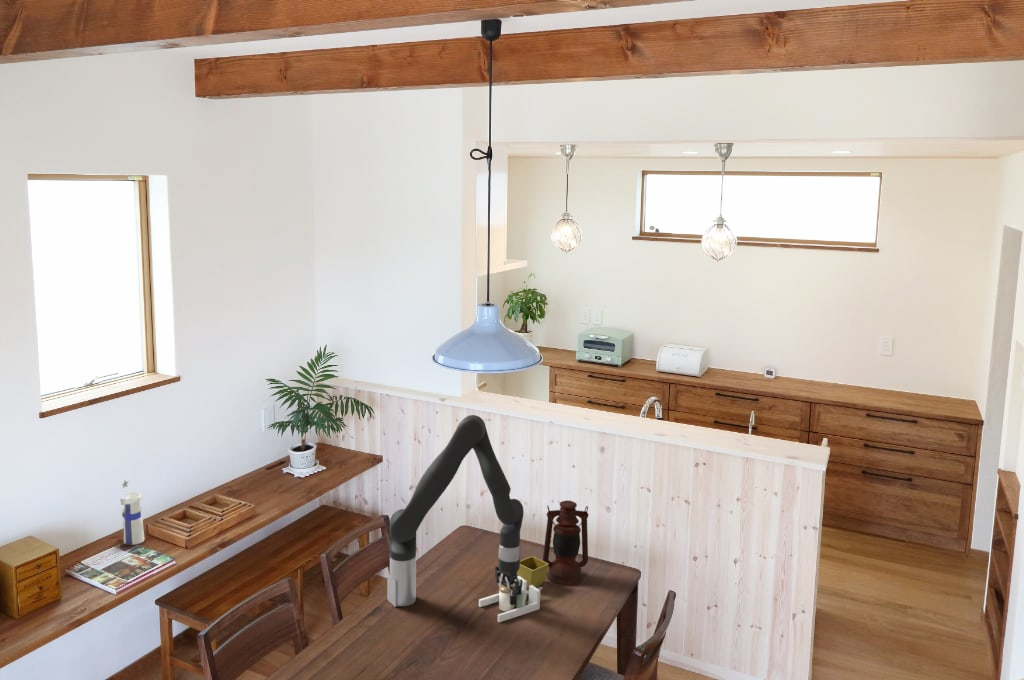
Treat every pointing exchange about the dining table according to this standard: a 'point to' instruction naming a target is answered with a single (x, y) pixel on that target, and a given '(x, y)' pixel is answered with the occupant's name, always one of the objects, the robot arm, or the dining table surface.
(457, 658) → the dining table surface
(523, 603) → the pusher
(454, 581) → the dining table surface
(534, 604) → the lane
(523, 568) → the flower pot
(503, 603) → the jar
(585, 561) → the lantern
